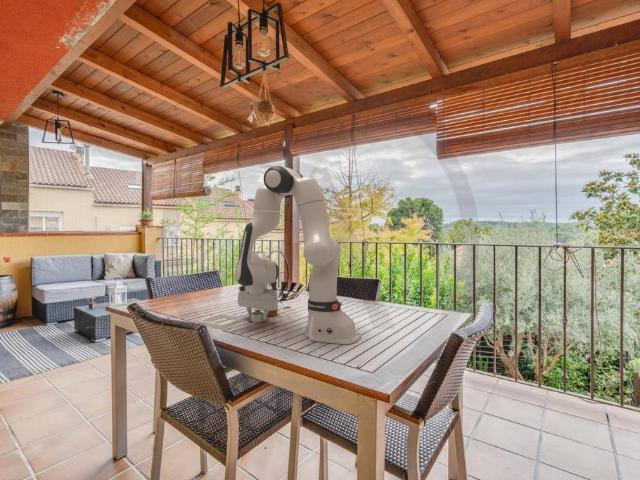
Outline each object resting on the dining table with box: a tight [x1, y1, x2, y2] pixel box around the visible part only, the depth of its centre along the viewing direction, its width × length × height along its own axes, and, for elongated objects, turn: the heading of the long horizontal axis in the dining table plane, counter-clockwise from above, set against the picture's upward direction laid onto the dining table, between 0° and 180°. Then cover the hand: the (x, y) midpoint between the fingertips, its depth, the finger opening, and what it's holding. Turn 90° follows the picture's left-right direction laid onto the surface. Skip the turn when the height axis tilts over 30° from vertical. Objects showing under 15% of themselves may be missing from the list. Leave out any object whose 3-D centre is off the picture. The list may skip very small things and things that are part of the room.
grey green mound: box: [247, 309, 268, 324], centre depth 156 cm, size 9×9×5 cm
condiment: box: [263, 308, 278, 318], centre depth 165 cm, size 7×8×12 cm
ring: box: [250, 311, 264, 323], centre depth 156 cm, size 6×6×3 cm
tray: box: [197, 313, 246, 330], centre depth 151 cm, size 14×14×2 cm
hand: (257, 318), depth 156 cm, fingers closed on ring, 6 cm apart
